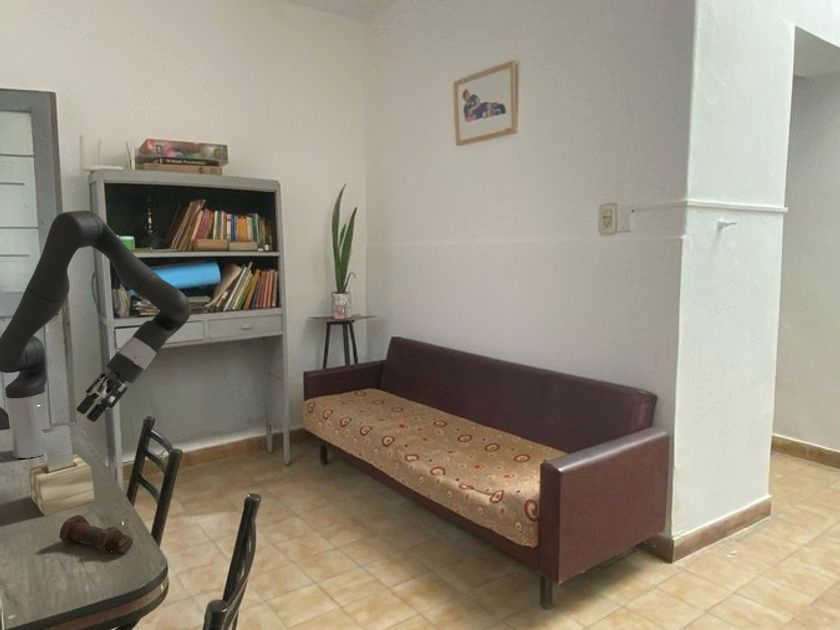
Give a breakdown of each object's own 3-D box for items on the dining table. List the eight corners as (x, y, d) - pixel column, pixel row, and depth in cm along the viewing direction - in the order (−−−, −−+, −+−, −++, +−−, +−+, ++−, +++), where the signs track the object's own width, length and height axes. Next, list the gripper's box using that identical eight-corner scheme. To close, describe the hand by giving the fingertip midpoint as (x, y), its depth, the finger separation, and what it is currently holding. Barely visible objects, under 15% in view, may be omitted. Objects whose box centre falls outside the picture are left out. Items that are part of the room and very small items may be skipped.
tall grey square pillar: (47, 488, 137) (40, 429, 135) (72, 482, 141) (65, 424, 139) (51, 493, 135) (44, 433, 133) (76, 486, 138) (69, 428, 136)
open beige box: (32, 499, 139) (28, 466, 138) (79, 485, 146) (76, 454, 145) (44, 515, 130) (40, 481, 129) (94, 500, 137) (91, 467, 136)
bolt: (125, 565, 113) (69, 548, 119) (143, 541, 117) (88, 526, 123) (110, 548, 110) (53, 532, 116) (129, 524, 114) (73, 509, 119)
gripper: (109, 347, 149) (62, 401, 142) (129, 354, 138) (79, 414, 132) (134, 364, 153) (89, 418, 147) (154, 373, 143) (107, 431, 137)
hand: (84, 416), depth 140 cm, fingers open, 8 cm apart
